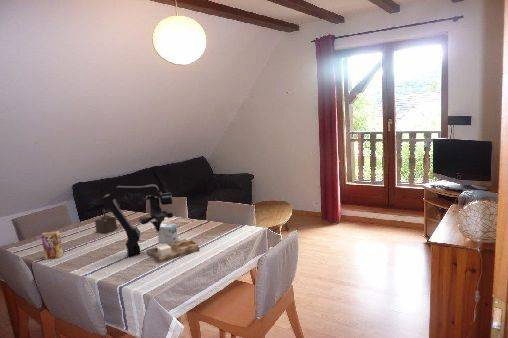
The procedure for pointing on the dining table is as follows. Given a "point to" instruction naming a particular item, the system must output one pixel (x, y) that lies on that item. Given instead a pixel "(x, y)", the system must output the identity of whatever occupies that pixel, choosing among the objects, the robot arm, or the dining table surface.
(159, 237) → the light bulb box
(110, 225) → the brown box
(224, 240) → the dining table surface
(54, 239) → the candy box
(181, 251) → the cubby
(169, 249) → the cream block
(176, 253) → the deck
